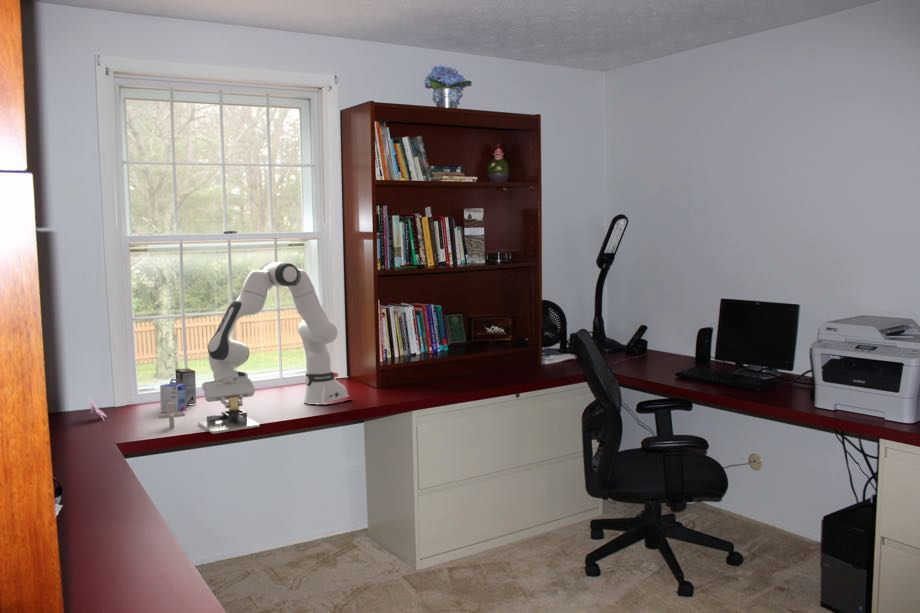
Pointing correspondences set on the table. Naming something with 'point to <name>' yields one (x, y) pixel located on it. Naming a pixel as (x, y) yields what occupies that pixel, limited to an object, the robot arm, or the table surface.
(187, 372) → the coffee box
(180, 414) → the pipe connector
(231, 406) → the tan upright block
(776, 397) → the table surface
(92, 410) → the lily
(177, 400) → the ink cartridge box
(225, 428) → the base
